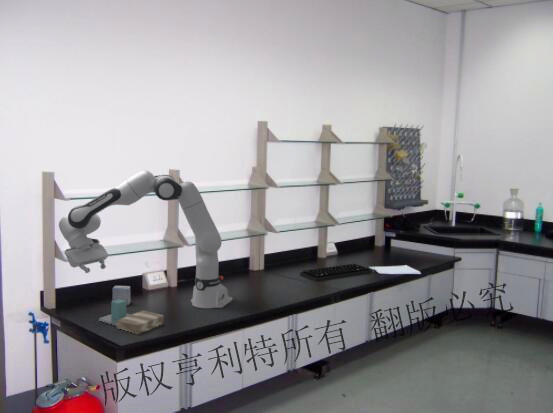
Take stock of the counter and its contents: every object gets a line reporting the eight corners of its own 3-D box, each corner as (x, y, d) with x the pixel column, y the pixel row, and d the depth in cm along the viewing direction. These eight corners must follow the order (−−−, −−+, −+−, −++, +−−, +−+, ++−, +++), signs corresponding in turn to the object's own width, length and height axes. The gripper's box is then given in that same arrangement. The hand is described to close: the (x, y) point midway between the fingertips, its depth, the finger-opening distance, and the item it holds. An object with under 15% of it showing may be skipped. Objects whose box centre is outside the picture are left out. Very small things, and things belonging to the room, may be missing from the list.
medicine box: (130, 302, 277) (130, 285, 276) (128, 305, 273) (128, 288, 272) (114, 302, 277) (114, 285, 276) (112, 305, 273) (112, 288, 271)
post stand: (118, 314, 260) (118, 300, 259) (138, 319, 254) (138, 305, 253) (99, 321, 249) (99, 307, 248) (118, 327, 244) (118, 312, 243)
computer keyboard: (315, 282, 330) (316, 276, 329) (300, 276, 343) (300, 270, 342) (371, 274, 355) (371, 268, 354) (354, 268, 368) (355, 262, 367)
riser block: (142, 318, 255) (142, 310, 255) (163, 324, 250) (163, 315, 249) (117, 328, 241) (117, 320, 241) (138, 334, 236) (138, 325, 235)
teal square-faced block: (118, 314, 255) (118, 299, 254) (126, 316, 252) (126, 300, 251) (111, 317, 251) (111, 301, 250) (118, 319, 248) (118, 303, 247)
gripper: (66, 245, 248) (81, 270, 245) (101, 239, 266) (116, 262, 263) (59, 253, 251) (74, 278, 248) (94, 246, 269) (109, 269, 265)
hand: (96, 270), depth 255 cm, fingers open, 8 cm apart
